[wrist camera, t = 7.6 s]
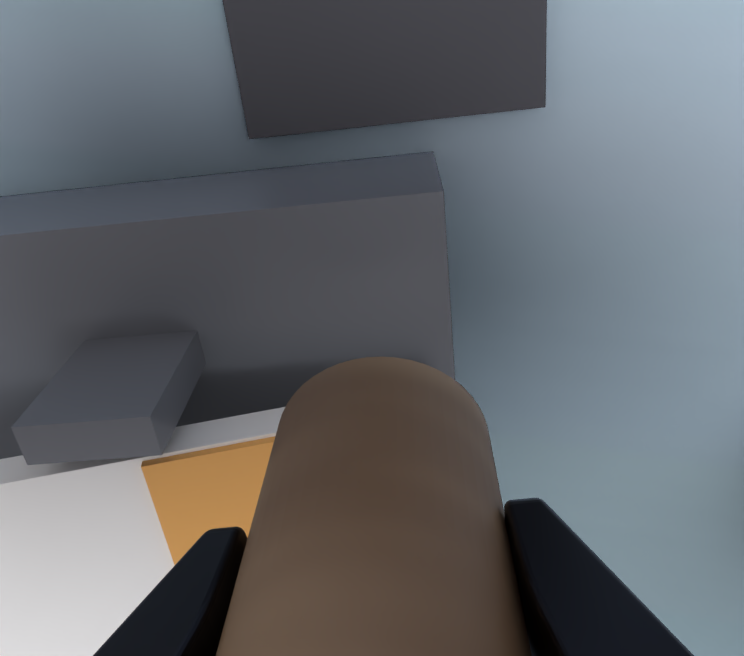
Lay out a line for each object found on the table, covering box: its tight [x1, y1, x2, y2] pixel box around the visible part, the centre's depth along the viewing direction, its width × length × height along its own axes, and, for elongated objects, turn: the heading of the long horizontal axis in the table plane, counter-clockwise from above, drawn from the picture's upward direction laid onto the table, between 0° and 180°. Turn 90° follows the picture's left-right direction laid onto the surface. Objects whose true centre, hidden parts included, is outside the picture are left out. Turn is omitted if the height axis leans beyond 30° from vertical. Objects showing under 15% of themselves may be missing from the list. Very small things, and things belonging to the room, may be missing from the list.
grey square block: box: [0, 152, 455, 465], centre depth 19 cm, size 16×16×8 cm
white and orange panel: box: [0, 407, 285, 656], centre depth 17 cm, size 15×7×1 cm, turn 96°
